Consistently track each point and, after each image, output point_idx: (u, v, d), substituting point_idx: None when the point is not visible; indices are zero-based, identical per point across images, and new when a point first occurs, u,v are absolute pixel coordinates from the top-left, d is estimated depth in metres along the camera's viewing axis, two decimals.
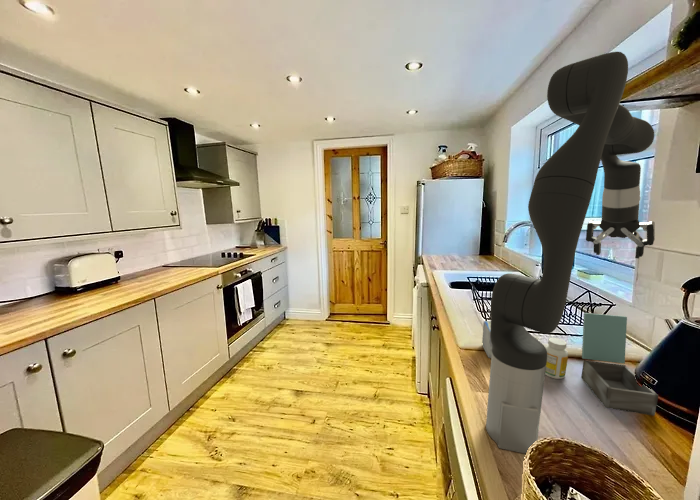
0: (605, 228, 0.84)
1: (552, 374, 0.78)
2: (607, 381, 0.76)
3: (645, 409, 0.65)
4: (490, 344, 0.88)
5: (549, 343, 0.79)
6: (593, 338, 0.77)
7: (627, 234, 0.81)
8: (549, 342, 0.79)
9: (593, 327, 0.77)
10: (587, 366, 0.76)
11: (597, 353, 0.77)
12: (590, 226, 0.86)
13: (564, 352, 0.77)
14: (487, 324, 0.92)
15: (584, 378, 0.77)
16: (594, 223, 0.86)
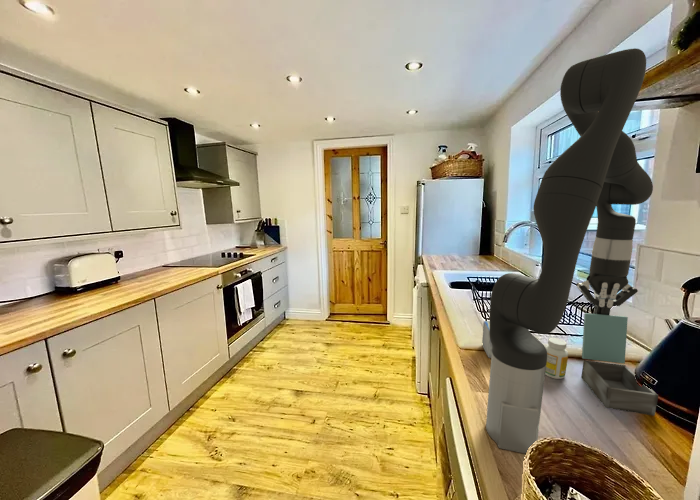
0: (597, 287, 0.76)
1: (552, 374, 0.78)
2: (607, 381, 0.76)
3: (645, 409, 0.65)
4: (490, 344, 0.88)
5: (549, 343, 0.79)
6: (593, 338, 0.77)
7: (613, 291, 0.75)
8: (549, 342, 0.79)
9: (593, 327, 0.77)
10: (587, 366, 0.76)
11: (597, 353, 0.77)
12: (584, 288, 0.77)
13: (564, 352, 0.77)
14: (487, 324, 0.92)
15: (584, 378, 0.77)
16: (584, 284, 0.78)
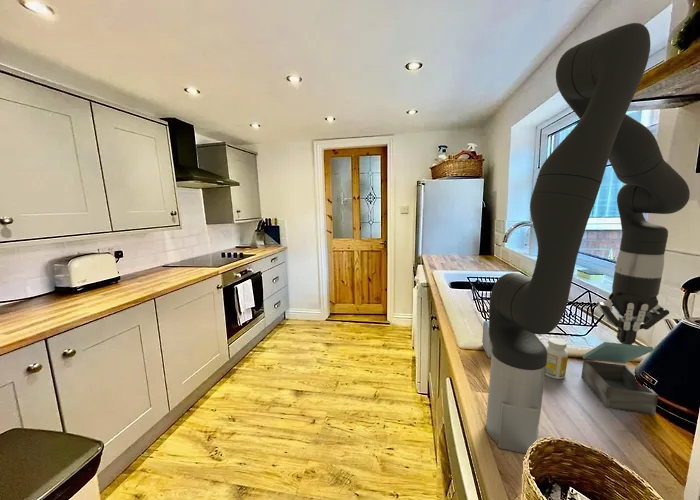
0: (622, 308, 0.66)
1: (552, 374, 0.78)
2: (607, 381, 0.76)
3: (645, 409, 0.65)
4: (490, 344, 0.88)
5: (549, 343, 0.79)
6: (602, 354, 0.73)
7: (640, 312, 0.65)
8: (549, 342, 0.79)
9: (607, 350, 0.71)
10: (587, 366, 0.76)
11: (600, 358, 0.76)
12: (606, 309, 0.67)
13: (564, 352, 0.77)
14: (487, 324, 0.92)
15: (584, 378, 0.77)
16: (606, 303, 0.68)
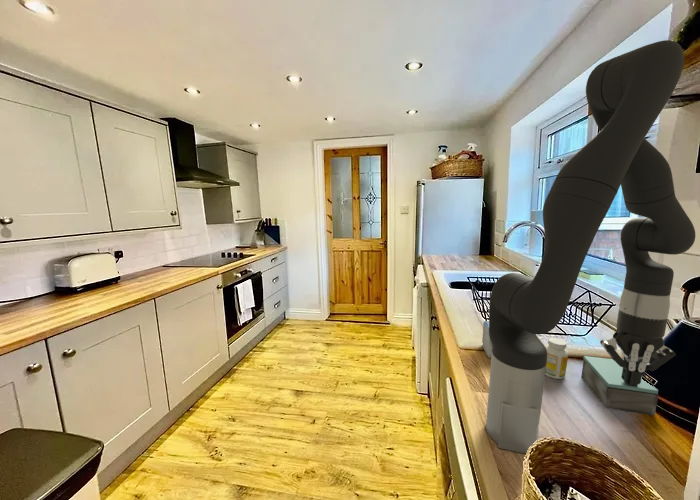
0: (627, 348, 0.64)
1: (552, 374, 0.78)
2: None
3: (645, 409, 0.65)
4: (490, 344, 0.88)
5: (549, 343, 0.79)
6: None
7: (646, 353, 0.63)
8: (549, 342, 0.79)
9: None
10: (587, 366, 0.76)
11: None
12: (611, 348, 0.65)
13: (564, 352, 0.77)
14: (487, 324, 0.92)
15: (584, 378, 0.77)
16: (610, 342, 0.66)
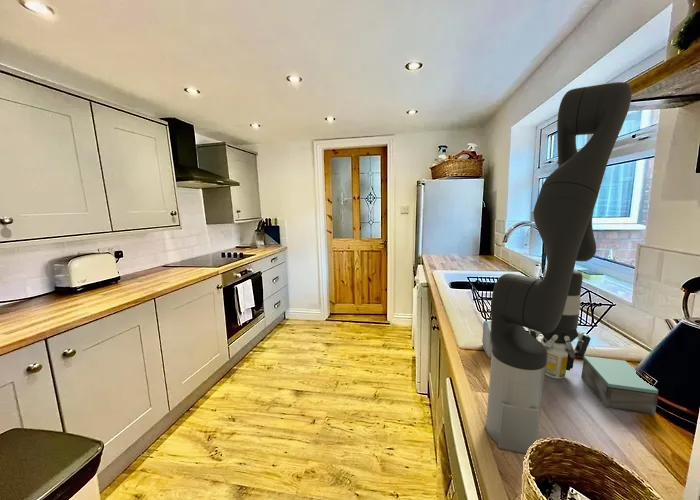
0: (548, 336, 0.78)
1: (552, 374, 0.78)
2: None
3: (645, 409, 0.65)
4: (490, 344, 0.88)
5: None
6: None
7: (567, 343, 0.77)
8: None
9: None
10: (587, 366, 0.76)
11: None
12: (534, 334, 0.79)
13: (564, 352, 0.77)
14: (487, 324, 0.92)
15: (584, 378, 0.77)
16: (535, 330, 0.79)
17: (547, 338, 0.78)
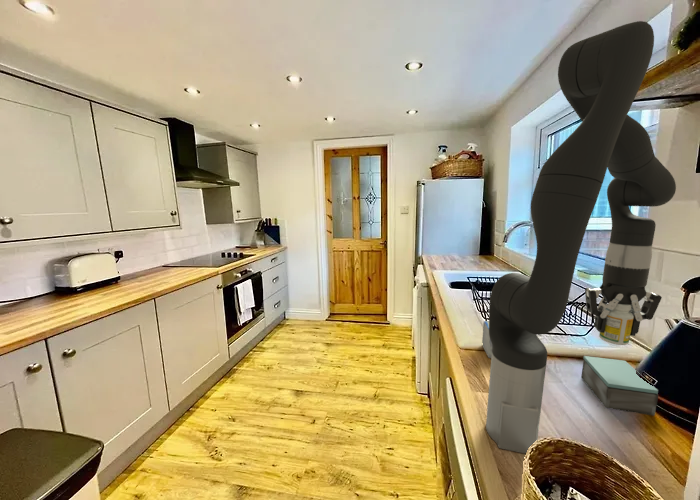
0: (610, 296, 0.68)
1: (614, 340, 0.68)
2: None
3: (645, 409, 0.65)
4: (490, 344, 0.88)
5: None
6: None
7: (633, 303, 0.67)
8: None
9: None
10: (587, 366, 0.76)
11: None
12: (594, 294, 0.69)
13: (629, 314, 0.67)
14: (487, 324, 0.92)
15: (584, 378, 0.77)
16: (595, 290, 0.69)
17: (609, 299, 0.68)
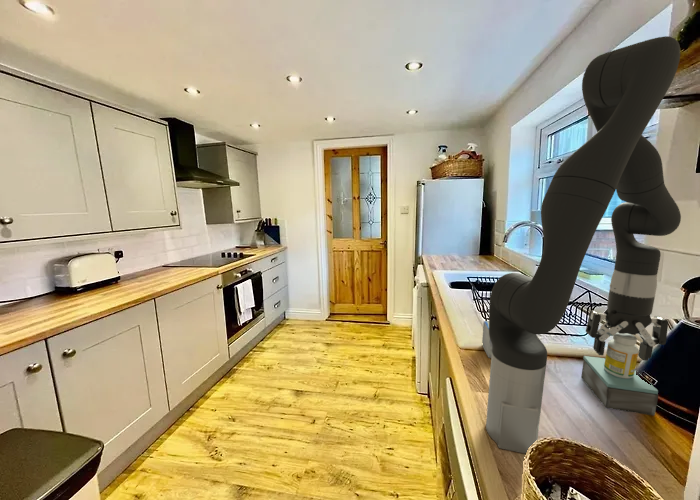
0: (615, 322, 0.68)
1: (619, 373, 0.68)
2: None
3: (645, 409, 0.65)
4: (490, 344, 0.88)
5: (615, 338, 0.69)
6: None
7: (641, 330, 0.66)
8: (615, 337, 0.69)
9: None
10: (587, 366, 0.76)
11: None
12: (598, 318, 0.69)
13: (634, 348, 0.67)
14: (487, 324, 0.92)
15: (584, 378, 0.77)
16: (600, 314, 0.69)
17: (613, 324, 0.68)
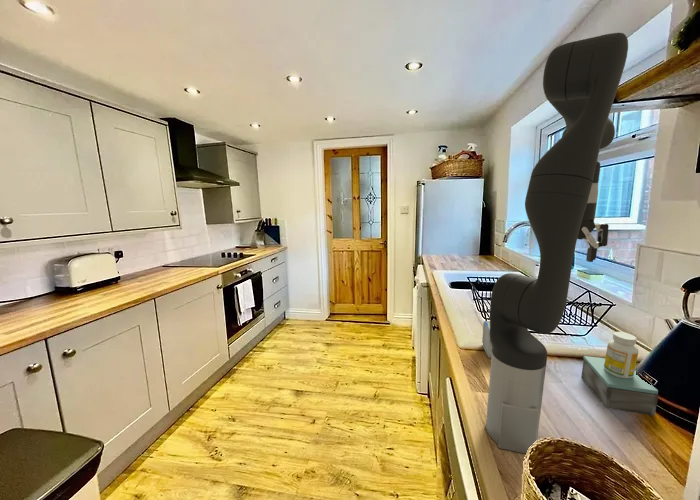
0: None
1: (620, 373, 0.68)
2: None
3: (645, 409, 0.65)
4: (490, 344, 0.88)
5: (615, 338, 0.69)
6: None
7: (586, 234, 0.78)
8: (615, 337, 0.69)
9: None
10: (587, 366, 0.76)
11: None
12: None
13: (634, 348, 0.67)
14: (487, 324, 0.92)
15: (584, 378, 0.77)
16: None
17: None
